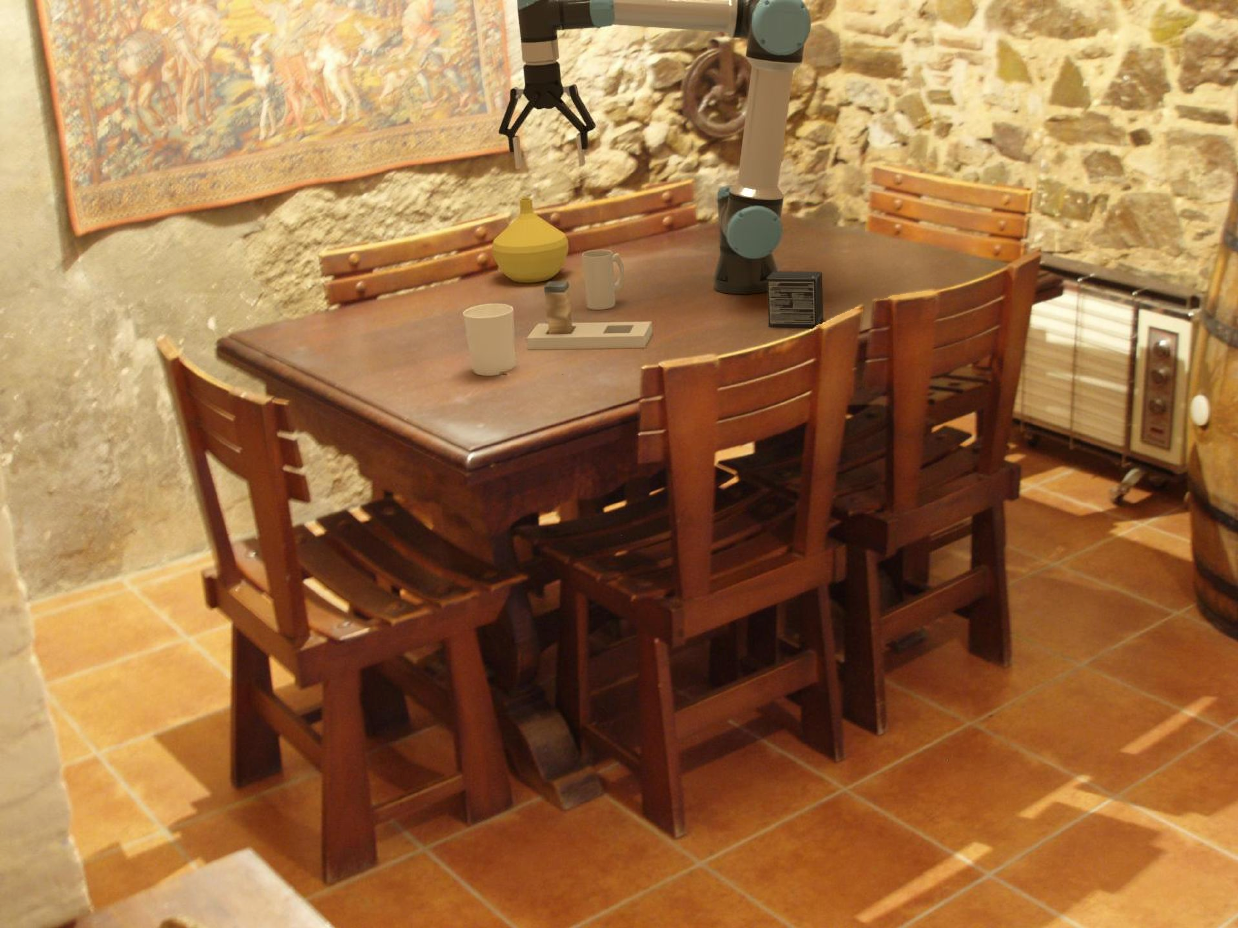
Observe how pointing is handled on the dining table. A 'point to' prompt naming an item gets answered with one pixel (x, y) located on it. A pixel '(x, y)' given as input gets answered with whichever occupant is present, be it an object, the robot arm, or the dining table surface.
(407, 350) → the dining table surface
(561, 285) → the plug
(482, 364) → the beige cup
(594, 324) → the panel
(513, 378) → the dining table surface
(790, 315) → the small box
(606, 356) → the dining table surface
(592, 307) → the mug
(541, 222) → the vase
